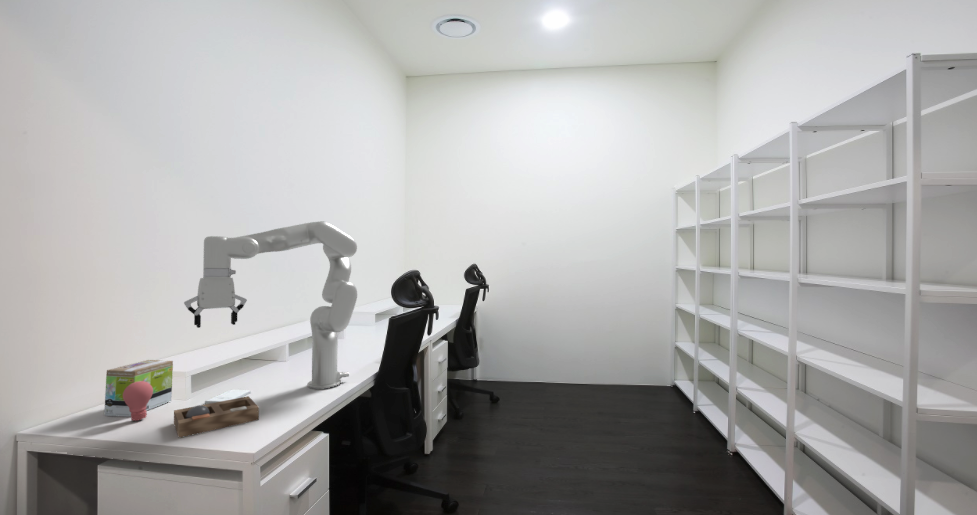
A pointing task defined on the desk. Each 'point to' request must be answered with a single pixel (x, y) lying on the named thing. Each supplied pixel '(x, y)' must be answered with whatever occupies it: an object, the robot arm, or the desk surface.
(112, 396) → the tea box
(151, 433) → the desk surface
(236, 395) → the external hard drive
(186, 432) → the socket block
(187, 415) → the dark grey ball
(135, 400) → the light bulb
